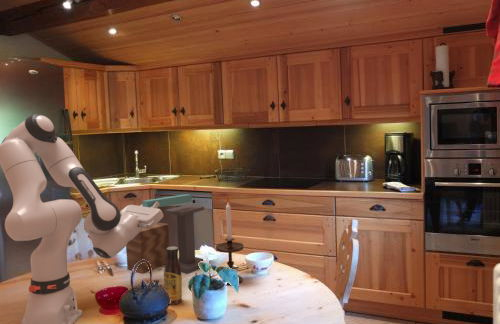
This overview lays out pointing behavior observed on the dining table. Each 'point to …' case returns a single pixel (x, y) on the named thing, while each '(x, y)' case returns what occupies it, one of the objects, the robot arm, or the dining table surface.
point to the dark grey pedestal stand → (186, 236)
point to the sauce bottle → (173, 276)
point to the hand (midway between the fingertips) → (154, 202)
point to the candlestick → (230, 241)
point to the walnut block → (148, 247)
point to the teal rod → (168, 200)
